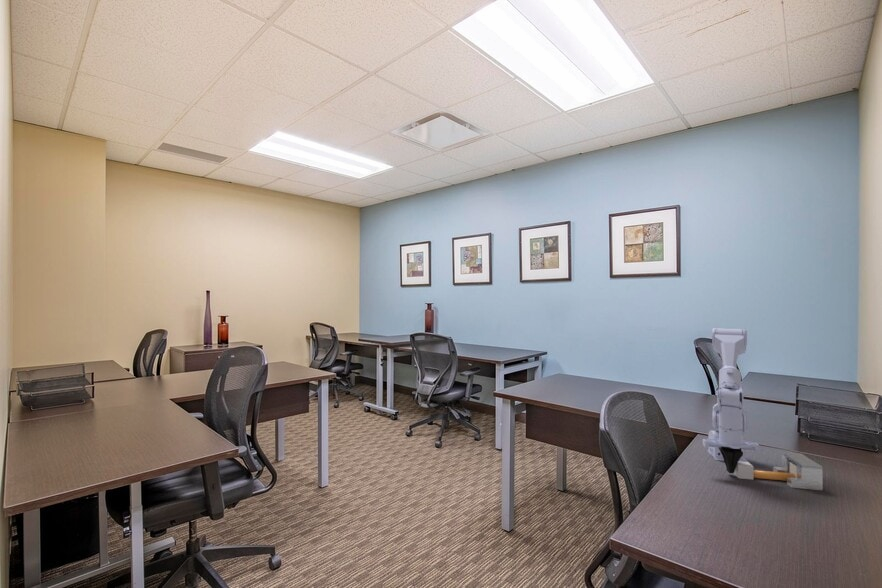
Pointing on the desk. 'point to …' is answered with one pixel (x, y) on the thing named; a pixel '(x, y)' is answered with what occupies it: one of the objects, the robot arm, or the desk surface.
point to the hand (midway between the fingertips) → (730, 471)
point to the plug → (763, 472)
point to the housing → (802, 471)
